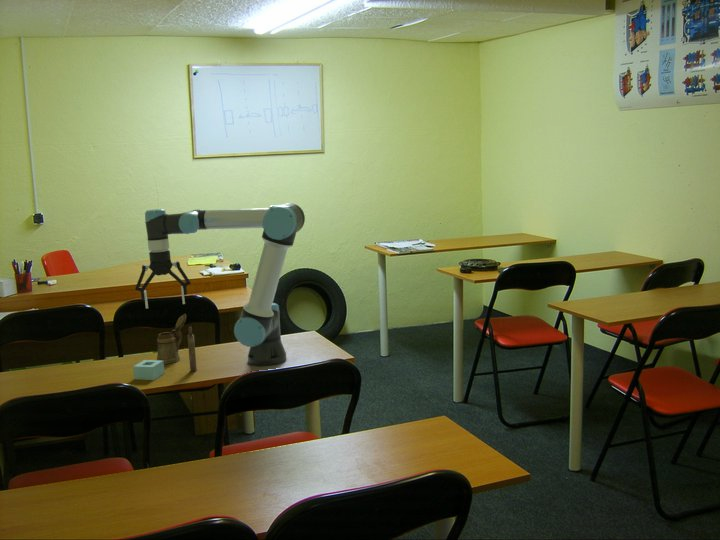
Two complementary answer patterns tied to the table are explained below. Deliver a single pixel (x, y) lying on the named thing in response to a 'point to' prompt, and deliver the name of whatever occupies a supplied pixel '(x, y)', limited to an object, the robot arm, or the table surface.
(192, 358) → the brown stepped rod
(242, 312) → the robot arm
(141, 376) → the bead
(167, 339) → the wooden mug
